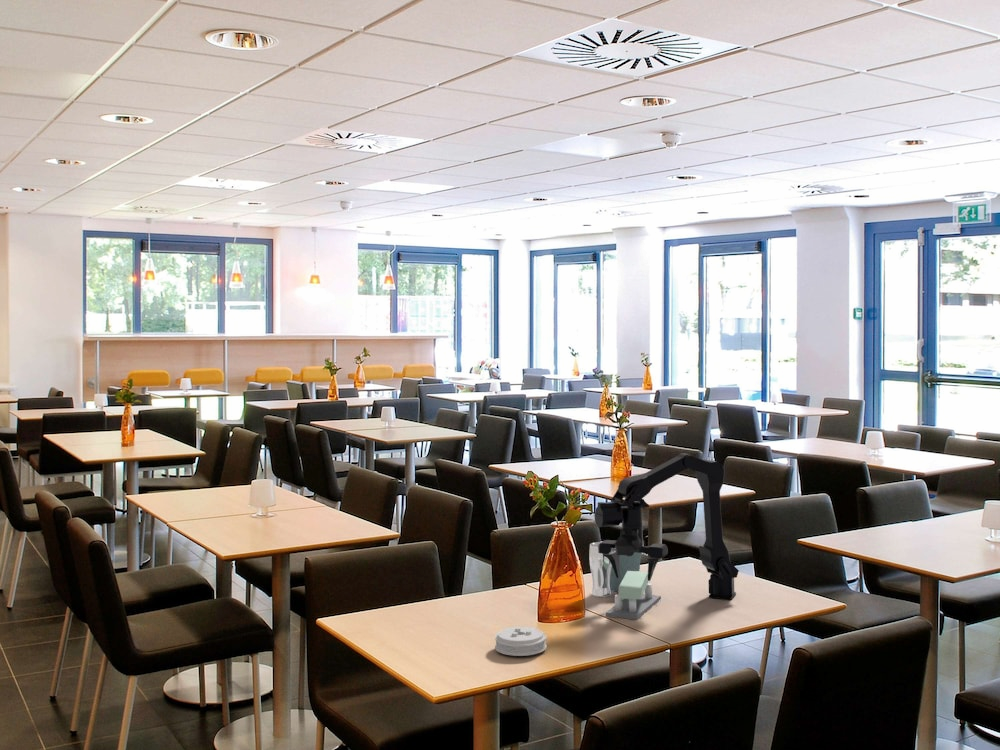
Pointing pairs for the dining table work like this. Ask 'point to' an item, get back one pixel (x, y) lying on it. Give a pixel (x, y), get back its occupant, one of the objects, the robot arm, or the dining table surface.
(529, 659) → the dining table surface
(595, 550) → the beer glass
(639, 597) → the plank
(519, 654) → the lid
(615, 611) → the peg stand
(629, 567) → the teal cylinder
